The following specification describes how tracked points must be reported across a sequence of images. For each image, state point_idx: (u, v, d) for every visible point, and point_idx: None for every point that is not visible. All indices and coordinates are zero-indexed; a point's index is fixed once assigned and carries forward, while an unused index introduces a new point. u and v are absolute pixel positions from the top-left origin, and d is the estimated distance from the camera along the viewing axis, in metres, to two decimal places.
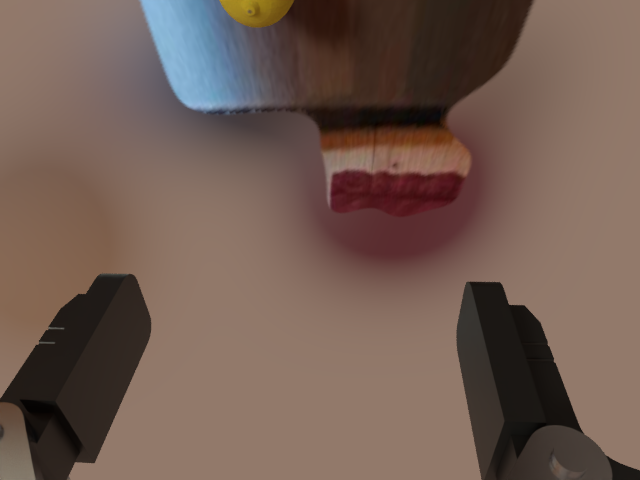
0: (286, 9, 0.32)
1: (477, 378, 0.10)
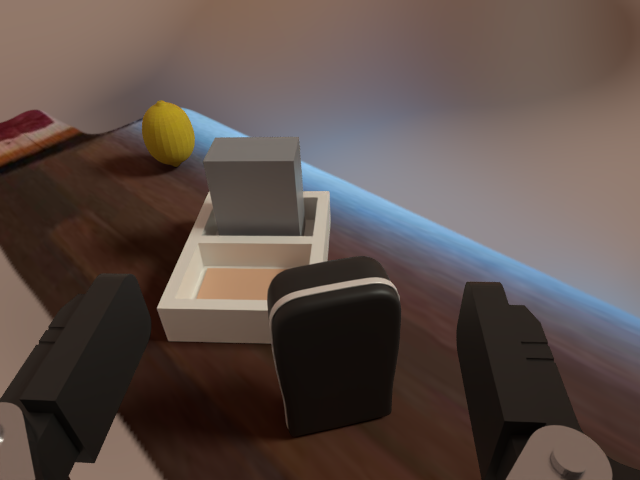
0: (143, 120, 0.53)
1: (477, 378, 0.10)
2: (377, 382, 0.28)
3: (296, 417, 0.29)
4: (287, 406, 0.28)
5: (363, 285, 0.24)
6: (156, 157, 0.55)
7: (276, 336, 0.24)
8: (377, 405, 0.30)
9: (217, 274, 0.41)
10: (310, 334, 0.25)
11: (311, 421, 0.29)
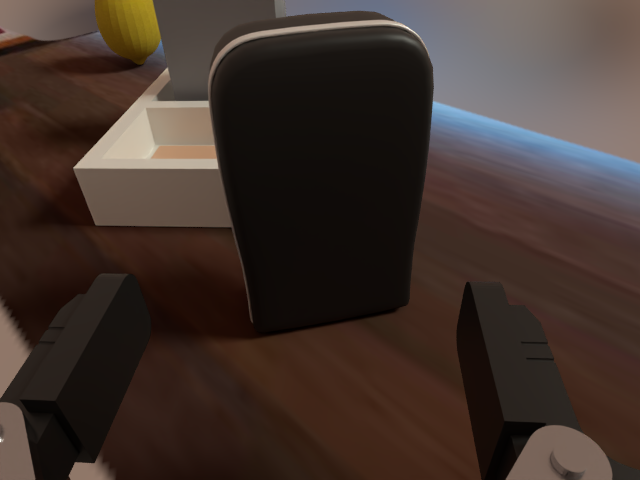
0: None
1: (477, 378, 0.10)
2: (390, 239, 0.18)
3: (262, 295, 0.18)
4: (247, 274, 0.18)
5: (370, 27, 0.14)
6: (113, 46, 0.44)
7: (218, 114, 0.14)
8: (389, 285, 0.19)
9: (171, 151, 0.30)
10: (278, 116, 0.14)
11: (286, 305, 0.19)
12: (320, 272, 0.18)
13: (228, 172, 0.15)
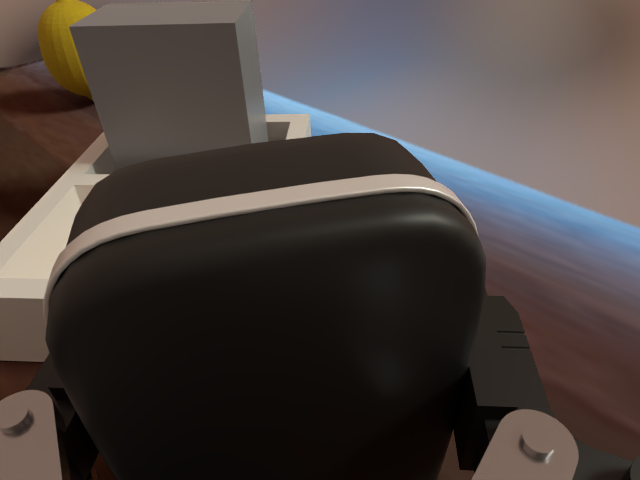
0: (38, 24, 0.36)
1: None
2: None
3: None
4: None
5: (367, 197, 0.07)
6: (61, 82, 0.37)
7: (60, 375, 0.07)
8: None
9: None
10: (186, 366, 0.07)
11: None
12: None
13: (103, 446, 0.08)
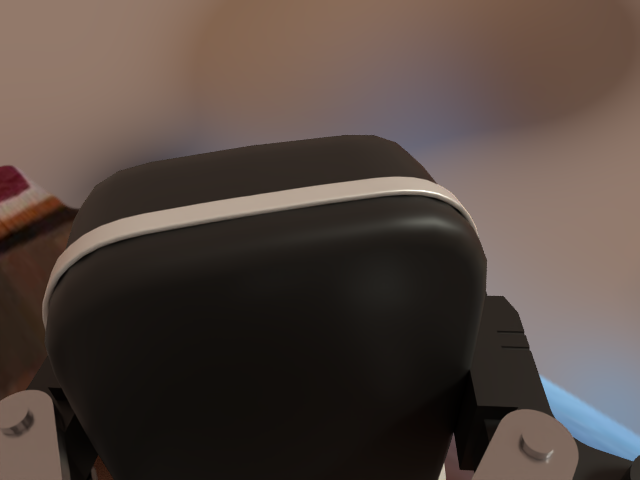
0: None
1: None
2: None
3: None
4: None
5: (368, 200, 0.07)
6: None
7: (60, 379, 0.07)
8: None
9: None
10: (186, 369, 0.07)
11: None
12: None
13: (102, 450, 0.08)
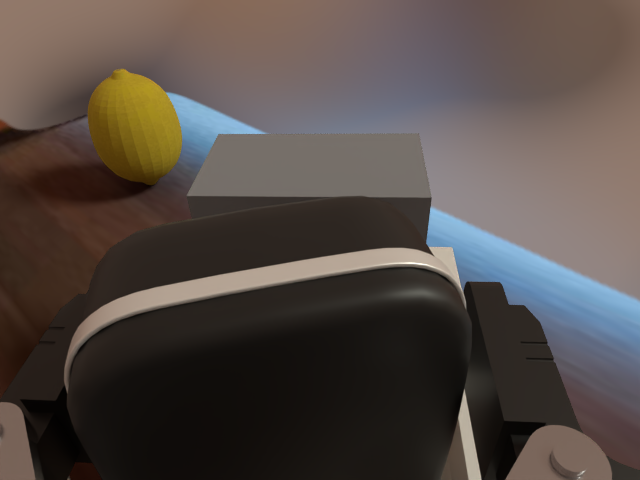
0: (89, 104, 0.30)
1: (477, 378, 0.10)
2: None
3: None
4: None
5: (361, 273, 0.08)
6: (114, 170, 0.31)
7: (80, 436, 0.07)
8: None
9: None
10: (195, 425, 0.08)
11: None
12: None
13: None
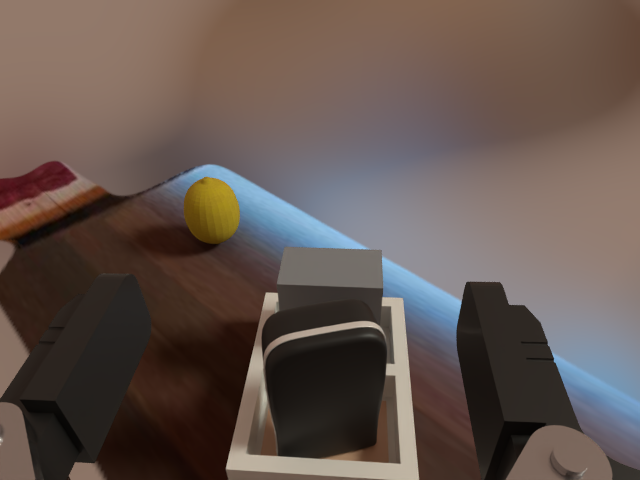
0: (185, 197, 0.48)
1: (477, 378, 0.10)
2: (363, 416, 0.30)
3: (286, 448, 0.30)
4: (278, 438, 0.30)
5: (352, 329, 0.26)
6: (198, 237, 0.49)
7: (269, 375, 0.26)
8: (363, 437, 0.31)
9: None
10: (301, 373, 0.26)
11: (300, 451, 0.31)
12: (321, 434, 0.30)
13: (272, 397, 0.27)
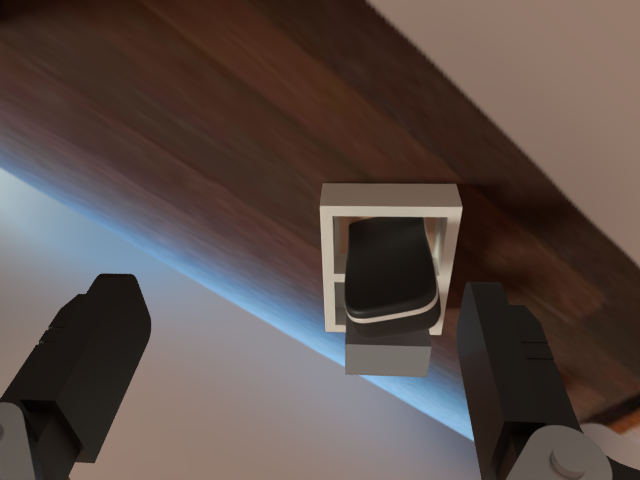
0: None
1: (477, 378, 0.10)
2: (359, 247, 0.40)
3: (417, 222, 0.40)
4: (423, 230, 0.39)
5: (371, 317, 0.35)
6: None
7: (432, 281, 0.35)
8: (358, 231, 0.42)
9: None
10: (408, 283, 0.35)
11: (406, 219, 0.41)
12: (390, 233, 0.40)
13: (429, 264, 0.36)
